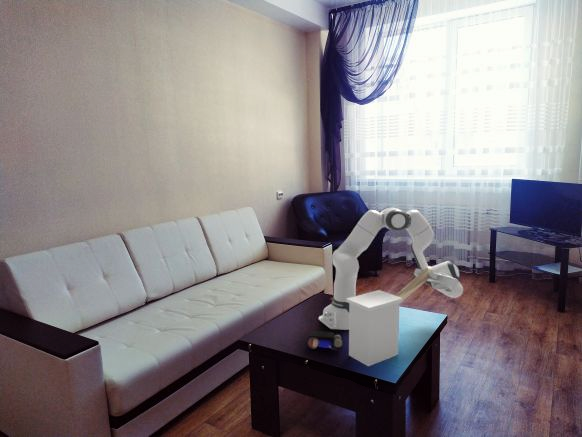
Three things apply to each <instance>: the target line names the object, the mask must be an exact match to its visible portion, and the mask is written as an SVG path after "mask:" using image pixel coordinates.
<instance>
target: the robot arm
mask: <svg viewBox="0 0 582 437" xmlns="http://www.w3.org/2000/svg"><path fill="white" fill-rule="evenodd" d="M383 228H386V229H388V230H391V231H393V232H399V231H402V230H406V231H407V233H408V235H409V236H410V238H411V241H412V242H411V244H410V249H411V253H412V255H413V258H414V260H415V262H416V264H417V267H418V268H415V269H414V272H413V275H414V276H415V277H417V276H418V275H419V274H420V273H421V272H423V271H424V270H425V269H426V268H428V269H432V272H433V273H432V272H428V274H427V275H428V276H431V277H430V278H429V279H428V280H427V281H425V282H424V283H423V284H426V285H427V286H429V287H431V288H433V289H434V290H436V291H438V292H440V293H442V294H443V295H445V296H447V297H449V298H452V299H457V298H459V297H461V296H462V295H463V294H464V293H463V292H464V287H463V285H462V284H461V282H460V278H461V272H460V268H459V267H458V265H457V264H455V263H454V262H453V261H451V260H447V261H443V262H440V263H437V264H435V265H432V266H429V265H428V262H427V260H426V257H425V255H424V251H425V250H426V249H427V248H428V247H429V246H430V245H431V243H432V242H433V240H434V237H435V232H434V230H433V227H432V226H431V224H430V223H429V222H428V220H427V219H426V217H425V216H424V215H423V214H422V213H421V212H420V211H419V210H418V209H410V210H408V211H403V210H402V209H400V208H397V207H395V206H394V207H392V206H387V207H384V208H383V209H381V210H378V211H377V210H375V209H369V210H368V211H366V213H364V214H363V215H362V216H361V218H360V219H359V221H358V222H357V224H356V225H355V227H353V229H352V231H351V233H350V234H348V236H347V237H346V239H345V240H344V242H342V243H341V244H340V245H339V247H338V248H337V249H335V250H334V251H333V253H332V256H331V259H332V260H331V262H332V265H333V266H334V267H335V279H334V281H333V296H332V297H331V298H330V301H331V303H330V304H329V305H327V306H326V307H324V309H323V311H322V315H319V317H318V320H319V321H320V322H321V323H322V324H323V325H325V326H326V327H328V328H329V329H330V330H341V331H342V330H344V331H346V330H348V331H349V303H348V302H346V298H350V297H354V296H357V295H356V294H357V293H356V285H357V284H356V283H357V280H358V279H357V278H358V272H359V269H360V265H359V260H358V257H360V255H361V254H362V253H363V252H364V251H366V250H367V249H368V248H369V246H370V245H371V243H372V242H373V240H374V239H375V237H376V236H377V234H378V233H379V231H380V230H381V229H383Z"/></svg>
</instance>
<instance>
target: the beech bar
mask: <svg viewBox="0 0 582 437" xmlns="http://www.w3.org/2000/svg"><path fill="white" fill-rule="evenodd" d="M428 272H432V269H428V268H426V269H425V270H424V271H423V272H421V273H420V274H419V275H418V276H415V278H413V279H412V280H411V281H410V282H409V283H407V285H405V286H403V288H401V290H400V291H398V292H397V293H395V296H398V297H401V298H403V302H404V301H405V300H406V299H408V297H410V296H411V295H412V294H413V293H414V292H415V291H417V290H418V289H420V287H421V286H422V285H424V284H425V283H424V282H425V281H427V280H428V279H429V278H430V277H431V276H428V275H427V274H428ZM432 273H433V272H432ZM403 302H400V303H399V306H400V305H401V304H402V303H403Z"/></svg>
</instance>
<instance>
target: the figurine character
mask: <svg viewBox="0 0 582 437" xmlns="http://www.w3.org/2000/svg"><path fill="white" fill-rule="evenodd" d="M308 337H309V339H308V340H307V344H308V347H309V348H310V349H317V347H319V348H323V349H325V348H326V349H330V350H334V351H336V350H338V349H337V348H340V347H342V345H343V340H342V336H341V335H340V334H335V332H334V331H323V330H322V331H321V330H309V333H308ZM318 338H320V339H318ZM324 339H332V341H331V340H324Z"/></svg>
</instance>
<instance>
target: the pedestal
mask: <svg viewBox="0 0 582 437" xmlns="http://www.w3.org/2000/svg"><path fill="white" fill-rule="evenodd" d="M395 295H396V294H395ZM395 295H394V294H392V293H390V292H386V291H382V290H380V289H377V290H373V291H370V292H365V293H363V294H358V295H355V296H354V297H350V298H346V302H348V303H349V330H348V334H349V335H348V356H349V357H351V358H352V359H354V360H356V361H358V362H360V363H362V364H363V365H365V366H367V367H370V366H374V365H375V364H379V363H381V362H383V361H386V360H388V359H390V358H393V357H396V356H398V355H399V334H400V333H399V329H400V328H399V327H400V305H399V303H400V302H402V303H403V302H404V301H403V298H401V297H398V296H395Z"/></svg>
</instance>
